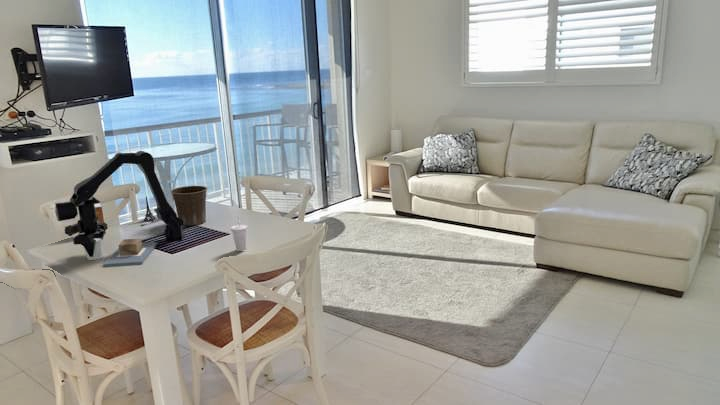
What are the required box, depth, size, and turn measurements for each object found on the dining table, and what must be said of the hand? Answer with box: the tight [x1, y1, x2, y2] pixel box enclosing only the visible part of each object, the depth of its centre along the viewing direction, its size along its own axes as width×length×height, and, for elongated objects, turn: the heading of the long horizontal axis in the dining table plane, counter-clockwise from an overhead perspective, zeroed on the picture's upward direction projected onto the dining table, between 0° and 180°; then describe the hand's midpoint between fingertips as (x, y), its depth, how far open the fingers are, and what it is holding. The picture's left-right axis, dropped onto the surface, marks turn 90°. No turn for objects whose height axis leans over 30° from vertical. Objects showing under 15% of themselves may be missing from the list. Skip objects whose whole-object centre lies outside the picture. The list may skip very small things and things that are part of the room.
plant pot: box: [170, 185, 208, 227], centre depth 243 cm, size 16×16×16 cm
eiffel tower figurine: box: [139, 196, 162, 227], centre depth 249 cm, size 15×10×13 cm
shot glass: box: [83, 238, 104, 261], centre depth 203 cm, size 7×7×7 cm
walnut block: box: [118, 238, 143, 256], centre depth 205 cm, size 7×7×4 cm
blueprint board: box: [102, 241, 158, 267], centre depth 205 cm, size 14×22×1 cm, turn 6°
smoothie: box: [230, 215, 248, 252], centre depth 205 cm, size 6×6×14 cm
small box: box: [94, 202, 107, 235], centre depth 231 cm, size 8×6×13 cm
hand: (94, 253), depth 204 cm, fingers closed on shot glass, 6 cm apart
